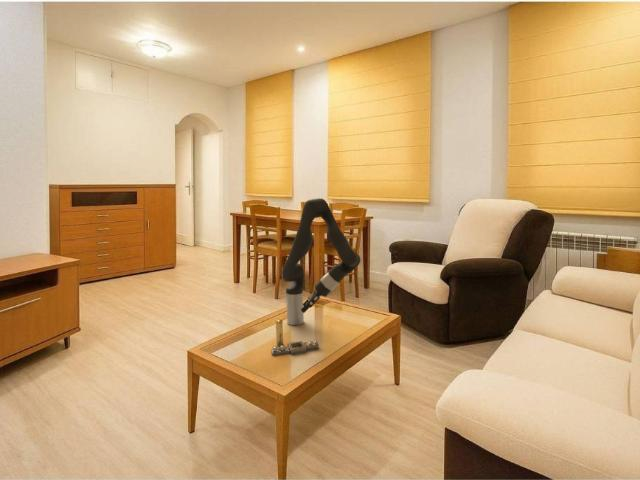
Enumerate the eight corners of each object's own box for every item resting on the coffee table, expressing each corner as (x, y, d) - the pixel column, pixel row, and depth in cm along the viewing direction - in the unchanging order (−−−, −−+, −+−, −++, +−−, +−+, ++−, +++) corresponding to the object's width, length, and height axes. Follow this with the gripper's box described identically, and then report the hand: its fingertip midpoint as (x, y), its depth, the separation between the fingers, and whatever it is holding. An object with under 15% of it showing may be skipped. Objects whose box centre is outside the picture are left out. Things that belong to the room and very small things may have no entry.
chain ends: (270, 350, 178) (270, 344, 178) (316, 344, 184) (316, 338, 184) (273, 357, 171) (273, 350, 170) (320, 350, 177) (320, 344, 176)
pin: (276, 343, 186) (275, 319, 184) (282, 343, 186) (281, 319, 185) (277, 346, 183) (276, 322, 181) (284, 345, 183) (283, 321, 182)
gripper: (321, 275, 186) (299, 299, 188) (319, 282, 172) (295, 307, 174) (333, 286, 186) (310, 309, 189) (332, 293, 172) (307, 319, 174)
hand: (303, 308), depth 181 cm, fingers open, 8 cm apart
